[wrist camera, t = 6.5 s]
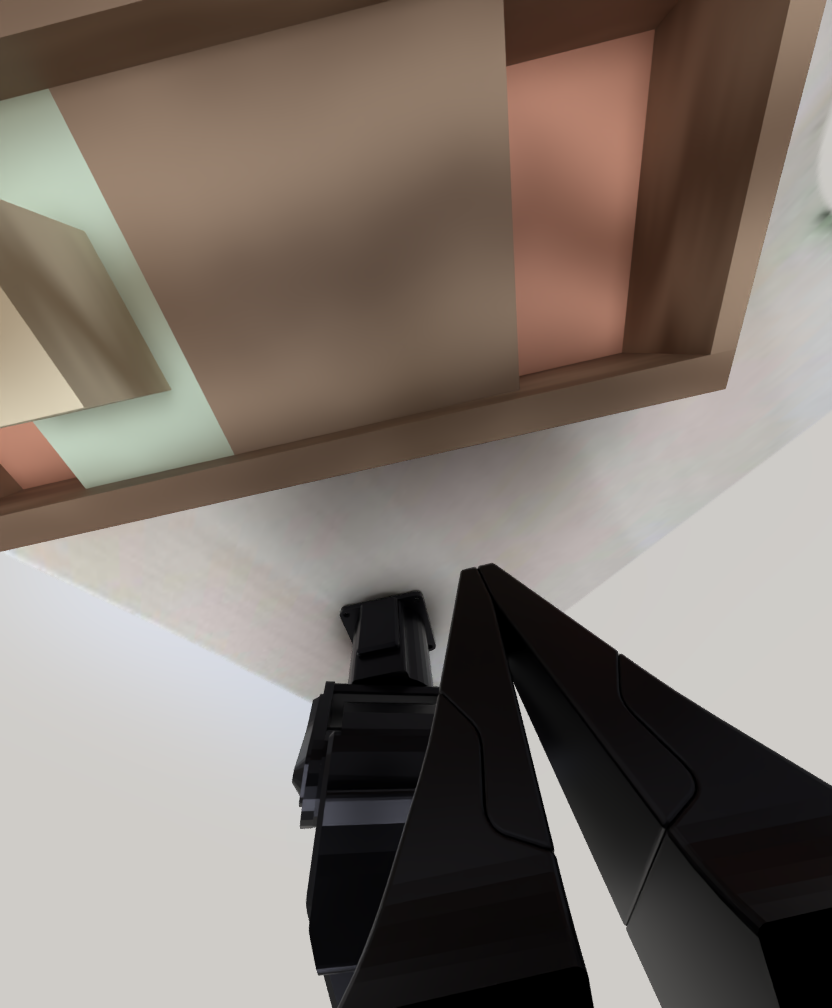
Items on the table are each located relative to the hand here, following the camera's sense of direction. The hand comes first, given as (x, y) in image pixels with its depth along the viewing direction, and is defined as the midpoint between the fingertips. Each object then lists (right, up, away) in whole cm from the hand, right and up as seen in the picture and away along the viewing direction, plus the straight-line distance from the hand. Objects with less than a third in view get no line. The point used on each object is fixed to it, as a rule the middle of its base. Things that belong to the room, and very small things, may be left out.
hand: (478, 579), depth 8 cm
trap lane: (-8, +11, +7) cm, 16 cm away
